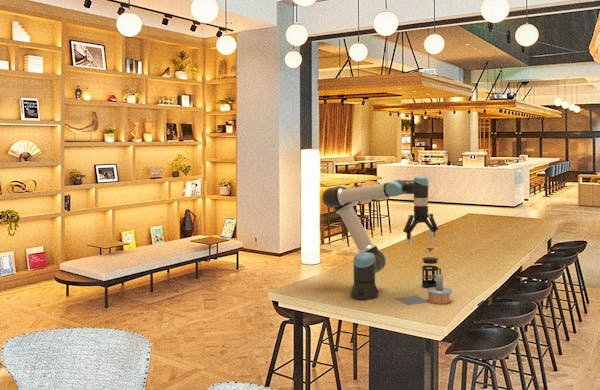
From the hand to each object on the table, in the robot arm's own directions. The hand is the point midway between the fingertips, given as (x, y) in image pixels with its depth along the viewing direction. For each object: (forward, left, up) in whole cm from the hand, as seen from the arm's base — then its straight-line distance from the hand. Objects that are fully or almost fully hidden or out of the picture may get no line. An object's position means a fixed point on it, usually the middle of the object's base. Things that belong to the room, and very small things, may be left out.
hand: (420, 244), depth 302 cm
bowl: (+13, +3, -29) cm, 32 cm away
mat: (+6, -9, -29) cm, 31 cm away
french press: (-14, +16, -29) cm, 36 cm away
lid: (+13, +3, -23) cm, 27 cm away
